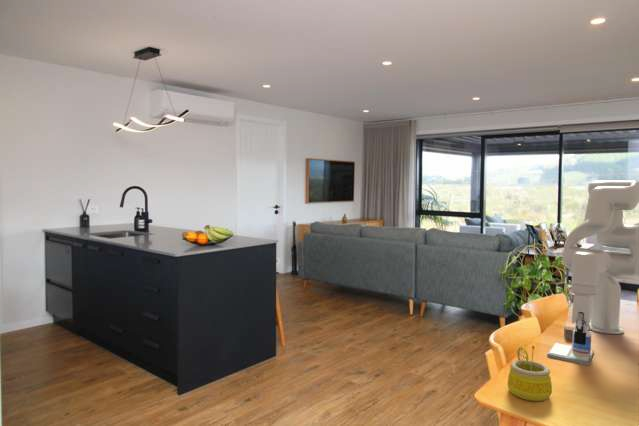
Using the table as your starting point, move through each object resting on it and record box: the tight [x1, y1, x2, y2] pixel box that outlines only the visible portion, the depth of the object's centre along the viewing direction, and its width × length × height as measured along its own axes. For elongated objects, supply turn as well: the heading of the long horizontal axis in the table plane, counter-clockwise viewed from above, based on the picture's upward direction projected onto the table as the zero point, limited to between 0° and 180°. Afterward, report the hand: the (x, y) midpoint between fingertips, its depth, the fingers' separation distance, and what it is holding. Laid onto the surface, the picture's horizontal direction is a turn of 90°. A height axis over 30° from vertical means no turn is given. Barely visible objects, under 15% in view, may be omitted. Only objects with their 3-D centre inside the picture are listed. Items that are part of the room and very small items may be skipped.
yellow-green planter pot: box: [507, 345, 553, 402], centre depth 125 cm, size 13×11×12 cm
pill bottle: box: [571, 324, 592, 355], centre depth 153 cm, size 6×5×10 cm
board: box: [546, 342, 595, 366], centre depth 155 cm, size 14×12×1 cm
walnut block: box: [563, 325, 576, 341], centre depth 172 cm, size 4×4×4 cm
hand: (581, 339), depth 153 cm, fingers open, 9 cm apart
